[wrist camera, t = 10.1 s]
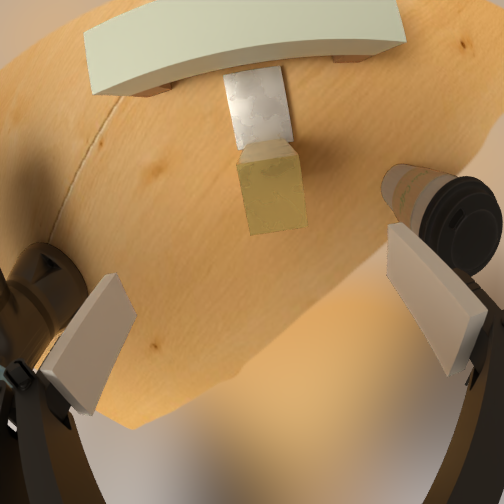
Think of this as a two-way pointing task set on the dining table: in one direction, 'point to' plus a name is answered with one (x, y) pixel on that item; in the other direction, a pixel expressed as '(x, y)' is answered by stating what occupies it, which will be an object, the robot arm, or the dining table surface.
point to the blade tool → (266, 151)
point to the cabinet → (230, 38)
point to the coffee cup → (446, 214)
